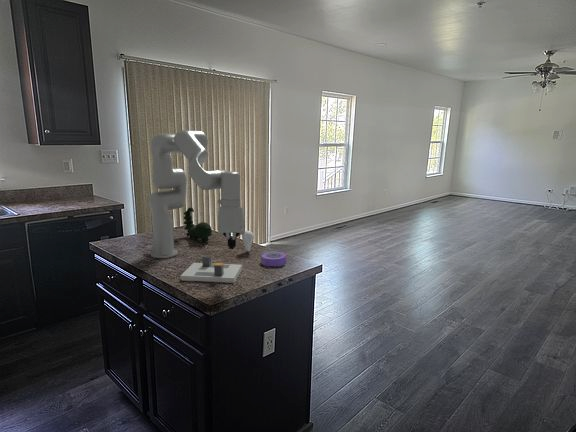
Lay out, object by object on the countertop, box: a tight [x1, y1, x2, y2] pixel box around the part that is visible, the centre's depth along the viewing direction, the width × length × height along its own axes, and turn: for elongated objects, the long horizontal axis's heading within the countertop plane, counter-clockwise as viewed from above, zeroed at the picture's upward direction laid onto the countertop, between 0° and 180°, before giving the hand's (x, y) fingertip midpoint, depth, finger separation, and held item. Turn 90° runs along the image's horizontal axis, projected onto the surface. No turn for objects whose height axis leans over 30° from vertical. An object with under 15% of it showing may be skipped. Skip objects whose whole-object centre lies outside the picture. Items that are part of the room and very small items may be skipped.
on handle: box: [201, 254, 212, 266], centre depth 158 cm, size 3×3×4 cm
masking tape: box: [260, 251, 287, 268], centre depth 170 cm, size 12×12×4 cm
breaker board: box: [180, 262, 243, 284], centre depth 154 cm, size 22×16×2 cm
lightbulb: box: [241, 230, 255, 253], centre depth 185 cm, size 6×6×11 cm
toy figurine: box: [183, 207, 213, 243], centre depth 204 cm, size 9×19×25 cm
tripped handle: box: [214, 262, 224, 275], centre depth 148 cm, size 3×3×4 cm
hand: (231, 248), depth 145 cm, fingers closed
